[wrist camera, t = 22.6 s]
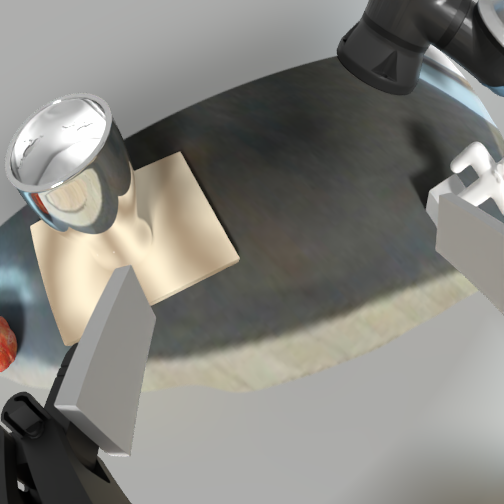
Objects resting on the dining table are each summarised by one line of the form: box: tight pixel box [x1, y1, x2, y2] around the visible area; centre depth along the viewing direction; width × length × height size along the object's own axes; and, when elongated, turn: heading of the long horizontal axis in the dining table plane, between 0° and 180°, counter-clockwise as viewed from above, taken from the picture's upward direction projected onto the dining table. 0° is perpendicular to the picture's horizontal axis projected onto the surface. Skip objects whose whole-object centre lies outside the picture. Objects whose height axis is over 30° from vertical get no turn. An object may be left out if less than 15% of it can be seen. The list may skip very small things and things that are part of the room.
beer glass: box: [5, 93, 152, 272], centre depth 19 cm, size 7×7×15 cm
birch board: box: [30, 152, 239, 346], centre depth 27 cm, size 18×13×1 cm
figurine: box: [426, 142, 504, 227], centre depth 27 cm, size 7×9×15 cm
